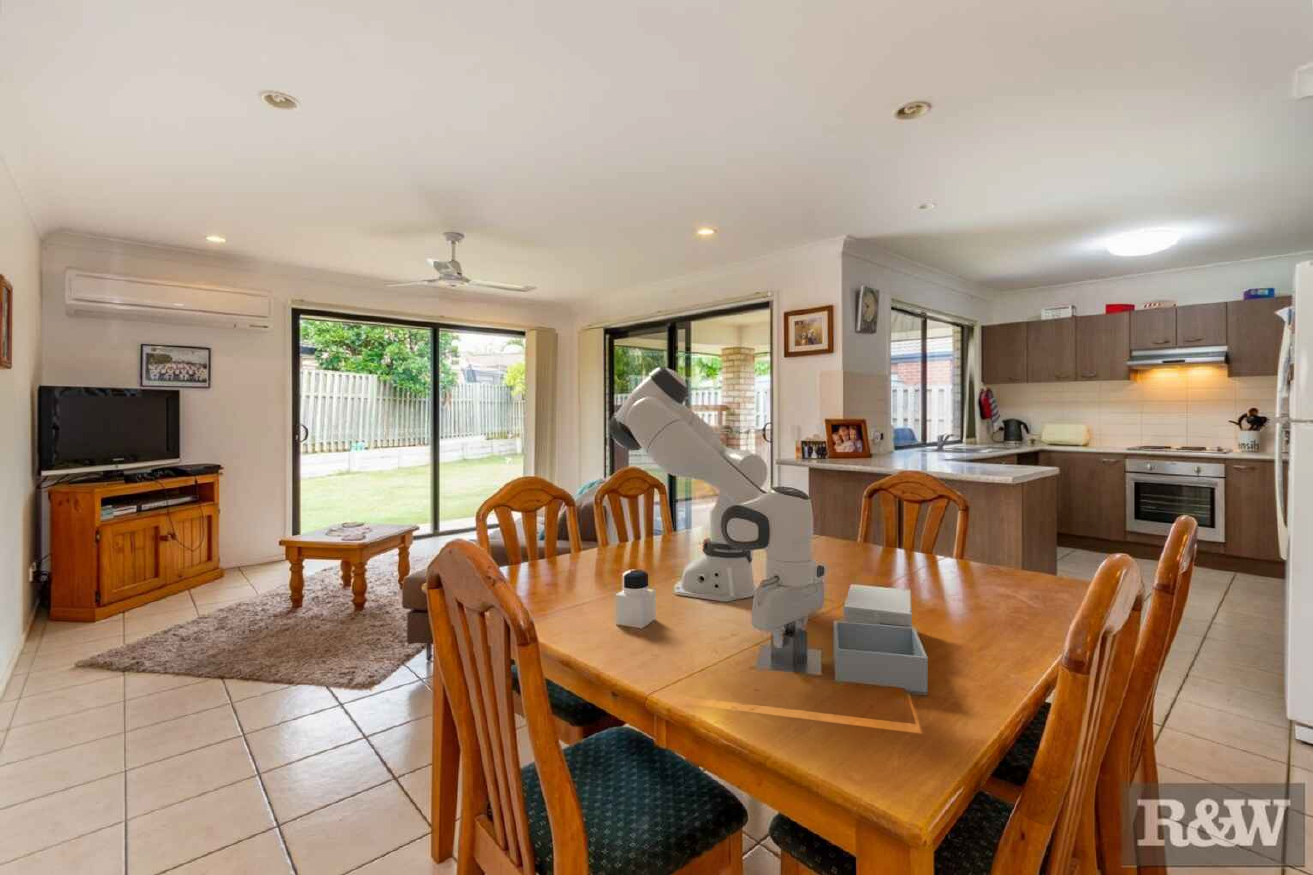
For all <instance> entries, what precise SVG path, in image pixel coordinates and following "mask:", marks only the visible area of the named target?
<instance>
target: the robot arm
mask: <svg viewBox="0 0 1313 875" xmlns="http://www.w3.org/2000/svg"><path fill="white" fill-rule="evenodd" d="M688 390H689V388H688V385H687V384H686V382H685V380H684V378H683V377H682V376H681V374H679V373H678V371H677V372H676V371H675V370H673V369H671V368H667V367H666V366H658V367H656V368H655V369H654V370H653V371H651V372H649V374H648V376H647V377H645V379H644V380H642V381H641V382H640V383H639V384H638V385H637V386H636V387H635V388H634V389H633V390H632V392H630V395H629V396H628V397H627V399H626V400H625V401H624V402H623V403H622V405H621V406H620V407H619V409H618V411H617V412H616V414H615V413H614V414H613V416H612V417H611V419H610V420H609V423H608V432H609V435H611V437H612V440H614V441H615V442H616V444H617V445H619V446H620V447H622V448H623V449H626V450H628V451H631V452H634V451H638V450H641V449H642V450H643V451H644V452H645V453H646V454H647V456H649V458H650V459H651V460H652V461H653V463H655V465H657V466H658V467H659V468H660V469H662V470H663V471H664V472H666V473H667V474H669V475H671V476H674V477H679V478H680V477H681V478H687V479H695V480H698V481H702V482H704V483H706V484H708V485H709V486H711V487H713V488H716V489H717V490H718V496H717V498H716V502H715V504H714V506H713V507H712V508H711V510H710V512H709V537H705V539H704V540H703V542H702V548H701V549H702V553H701V554H699V555H698V556H697V557H695V558H694V559H693V560H692V561H689V563H688V564H687V565H686V566H685V567H684V569H683V573H682V577H681V579H680V580H679V581H677V582H676V583H675V584H674V586H673V594H675V595H678V596H680V597H681V596H682V597H683V596H684V597H689V598H697V599H703V600H704V599H705V600H709V601H710V600H712V601H719V602H725V603H726V602H731V601H734V600H743V599H746V598H751V597H753V599H752V607H751V619H750V620H751V625H752V627H753V628H754V629H756V630H758V631H761V632H765V633H769V632H770V634H771V633H772V636H773V637H774V646H775V647H778V648H782V647H784V646H785V645H786V643H785V642H786V638H785V637H783V635H782V632H781V631H783V626H784V625H786V624H788V623H791V622H793V621H795V620H796V628H797V629H801V630H804V631H805V628H806V626H807V623H808V620H809V615H810V614H814V613H815V612H817V611H820V610H822V609H823V607H824V603H825V600H826V599H825V598H826V579H825V577H824V576H826V575H827V565H826V564H823V563H819V562H815V561H814V554H813V550H812V541H813V538H814V518H813V517H814V516H813V515H814V514H813V505H812V503H811V502H812V501H811V499H810V497H809V495H808V494H807V493H806V492H804V491H802V490H800V489H799V488H798V489H797V488H794V487H789V486H787V487H786V486H774V487H771V488H770V489H769V490H768V491H765V490H763V489H762V487H763V486H764V484H765V483H766V481H767V478H768V467H767V463H766V462H765V460H764V459H763V458H762V457H761V456H759V455H757V454H756V453H754V452H752V451H749V450H745V449H744V450H742V449H733V448H730V447H728V446H726V445H724V444H723V443H722V442H721V440H720V439H719V438H718V437H717V435H716V432H715V429H714V428H713V427H712V426H711V425H709V423H707V422H706V421H705V420H703V418H701V417H700V416H699V415H698V414H696V413H695V412H694V411H693V410H692V409H690V408H689V407H688V406H687V405H685V404H684V402H685V401H686V399H687V397H688ZM756 550H757V551H758V550H763V551H765V553H766V559H765V560H766V561H765V562H766V565H765V566H766V568H765V569H766V578H765V579H763V580H760V584H758V586H757V587H756V583H755V579H754V573H753V565H752V564H753V563H752V562H753V557H754V551H756Z"/></svg>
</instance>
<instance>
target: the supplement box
mask: <svg viewBox="0 0 1313 875" xmlns="http://www.w3.org/2000/svg"><path fill="white" fill-rule="evenodd" d="M912 614H913V612H912V591H911V590H910V589H906V588H905V589H902V588H895V587H894V588H893V587H882V586H871V585H865V584H864V585H862V584H853V583H852V584H850V586H849V589H848V593H847V595H846V598H845V601H844V606H843V622H853V623H865V624H877V625H890V626H902V627H913V623H912V622H913V621H912V620H913V619H912V617H913V615H912Z"/></svg>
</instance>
